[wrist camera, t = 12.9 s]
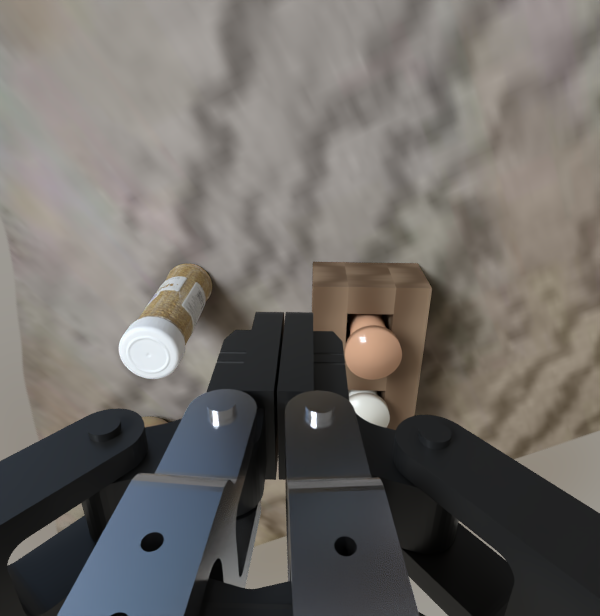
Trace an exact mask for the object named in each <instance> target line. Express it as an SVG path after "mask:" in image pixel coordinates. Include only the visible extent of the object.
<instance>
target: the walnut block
mask: <svg viewBox="0 0 600 616" xmlns="http://www.w3.org/2000/svg"><path fill="white" fill-rule="evenodd" d="M431 293H432V287H431V286H430V284H429V282H428V280H427V279H426V277H425V275H424V273H423V272H422V270H421V268H420V266H419V265H418V263H349V262H313V284H312V313H313V331H333V332H334V333H335V334H336V335H337V336H338V337H339V338H340V339H341V340H342V342H343V350H344V359H345V344H346V341H347V340H348V338H349V337H350V329H349V323H347V314H382V316H383V320H384V323H385V326H386V328H387V329H389V330H391V331H392V332H393V333H394V334H395V335H396V337H397V338H398V340H399V343H400V346H401V349H402V359H401V362H400V364H399V366H398V367H397V369H396V370H395V371H394V372H393V373H391V374H390V375H388V376H386V377H384V378H381V379H375V380H369V379H364V378H361V377H358V376H357V375H355V374H354V373H352V372H351V370H350V369H349V368H348V366H347V364H346V360H345V367H346V376H347V384H348V390H364V391H377V395H378V396H380V397H381V398H382V399H383V400H384V401H385V402H386V404H387V407H388V411H389V415H390V421H389V424H388V426H387V428H389V429H393V430H396V428H397V427H398V425H399V424H400V423H401V422H402V421H403V420H405V419H407V418H409V417H412V416H415V408H416V401H417V394H418V387H419V379H420V372H421V365H422V358H423V351H424V343H425V336H426V329H427V322H428V315H429V307H430V300H431Z"/></svg>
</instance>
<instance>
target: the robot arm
mask: <svg viewBox="0 0 600 616" xmlns="http://www.w3.org/2000/svg"><path fill="white" fill-rule="evenodd" d="M278 459H279V479H283V480H286V528H287V556H288V557H287V559H288V582H284V583H280V584H275V585H272V586H267V587H262V588H258V589H245V585H246V580H247V575H248V571H249V566H250V561H251V556H252V552H253V547H254V542H255V537H256V533H257V528H258V523H259V518H260V514H261V498H262V495H263V491H264V482H265V479H274V480H276V472H277V461H278ZM80 503H82V507H83V510H84V514H85V516H83V517H82V518H80V519H79V520H77V521H76V522H74V523H73V524H71V525H70V526H68V527H67V528H65V529H64V530H62V531H61V532H59V533H58V534H56V535H55V536H53V537H52V538H50V539H49V540H47V541H46V542H44V543H43V544H41V545H40V546H38V547H37V548H35V549H34V550H32V551H31V552H29V553H28V554H26V555H25V556H23V557H22V558H20V559H19V560H18V561H16V562H14V563H13V564H10V565H8V566H7V563H8V560H9V557H10V555H11V553H12V552H13V550H14V549H15V548H16V547H17V546H18V545H19V544H20V543H21V542H22V541H23V540H25V539H26V538H28V537H29V536H31V535H32V534H34V533H35V532H37V531H38V530H40V529H42V528H43V527H45V526H46V525H48V524H49V523H51V522H52V521H54V520H56V519H57V518H59V517H60V516H62V515H63V514H65V513H66V512H68V511H69V510H71V509H72V508H74V507H76V506H77V505H79V504H80ZM458 521H460V522H462V523H463V524H464V525H465V526H467V527H468V528H469V529H470V530H472V531H473V532H474V533H475V534H477V535H478V536H479V537H480V538H482V539H483V540H484V541H485V542H487V543H488V544H489V545H491V546H492V547H493V548H494V549H495V550H497V551H498V552H499V553H500V554H501V555H502V556H503V557H504V558H505V559H506V560H504V559H503V558H502V557H500V556H499V555H498V554H497V553H496V552H494V551H493V550H492V549H491V548H489V547H488V546H487V545H486V544H484V543H483V542H482V541H481V540H479V539H478V538H477V537H476V536H474V535H473V534H472V533H471V532H469V531H468V530H467V529H466V528H464V527H463V526H462V525H461V524H459V523H458ZM409 577H410V578H411V579H412V580H413V581H414V582H415V583H416V584H417V585H418V586H419V587H420V588H421V589H422V590H423V591H424V592H425V593H426V594H427V595H428V596H429V597H430V598H431V599H432V600H433V601H434V602H435V603H436V604H437V605H438V606H439V607H440V608H441V609H442V610H443V611H444V612H445V613H446V614H447V615H449V616H600V513H598V512H596V511H595V510H593V509H592V508H590V507H589V506H587V505H585V504H584V503H582V502H581V501H579V500H577V499H576V498H574V497H573V496H571V495H569V494H568V493H566V492H565V491H563V490H561V489H560V488H558V487H557V486H555V485H553V484H552V483H550V482H548V481H547V480H545V479H544V478H542V477H541V476H539V475H537V474H536V473H534V472H533V471H531V470H530V469H528V468H526V467H525V466H523V465H521V464H520V463H518V462H517V461H515V460H514V459H512V458H510V457H509V456H507V455H506V454H504V453H502V452H501V451H499V450H498V449H496V448H494V447H493V446H491V445H490V444H488V443H487V442H485V441H483V440H482V439H480V438H479V437H477V436H475V435H474V434H472V433H471V432H469V431H467V430H466V429H464V428H463V427H461V426H459V425H458V424H456V423H454V422H452V421H450V420H448V419H445V418H442V417H438V416H433V415H417V416H412V417H409V418H407V419H405V420H403V421H402V422H401V423H400V424H399V425H398V427H397V428H396V430H393V429H389V428H385V427H381V426H378V425H375V424H372V423H370V422H368V421H366V420H364V419H363V418H361V417H360V416H359V415H358V414H356V413H355V410H354V407H353V405H352V404H351V403H350V401H349V393H348V384H347V376H346V367H345V359H344V350H343V342H342V340H341V339H340V338H339V337H338V336H337V335H336V334H335V333H334V332H333V331H313V313H300V312H286V316H285V325H284V312H256V314H255V318H254V322H253V326H252V330H235V331H234V332H233V333H231V334H230V335H229V336H228V337H227V338H226V339H225V340H224V342H223V345H222V348H221V351H220V354H219V357H218V360H217V363H216V366H215V369H214V372H213V374H212V377H211V380H210V383H209V386H208V389H207V392H206V393H204V394H202V395H200V396H198V397H197V398H196V399H194V400H193V401H192V402H191V403H190V404H189V406H188V408H187V410H186V412H185V414H184V416H183V418H182V419H179V420H176V421H173V422H169V423H165V424H160V425H155V426H150V427H145V425H144V421H143V419H142V417H141V416H140V415H139V414H137V413H136V412H134V411H131V410H127V409H108V410H103V411H99V412H96V413H93V414H91V415H89V416H86V417H84V418H83V419H81V420H79V421H77V422H75V423H73V424H71V425H69V426H67V427H65V428H63V429H61V430H59V431H58V432H56V433H54V434H52V435H50V436H48V437H46V438H44V439H42V440H40V441H38V442H36V443H34V444H32V445H31V446H29V447H27V448H25V449H23V450H21V451H19V452H17V453H15V454H13V455H11V456H9V457H8V458H6V459H4V460H2V461H0V616H425V615H423V614H421V613H420V612H418V610H417V606H416V602H415V598H414V595H413V591H412V587H411V584H410V580H409Z"/></svg>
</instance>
